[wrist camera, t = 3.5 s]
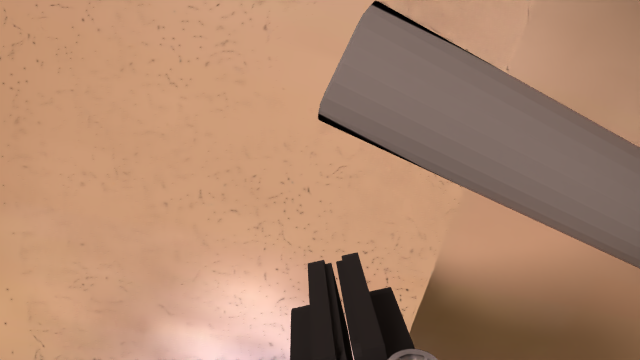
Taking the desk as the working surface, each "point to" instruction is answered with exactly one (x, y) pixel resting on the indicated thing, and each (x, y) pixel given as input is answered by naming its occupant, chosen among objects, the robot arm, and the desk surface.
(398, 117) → the half round rod
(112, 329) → the desk surface
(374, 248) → the desk surface
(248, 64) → the desk surface
